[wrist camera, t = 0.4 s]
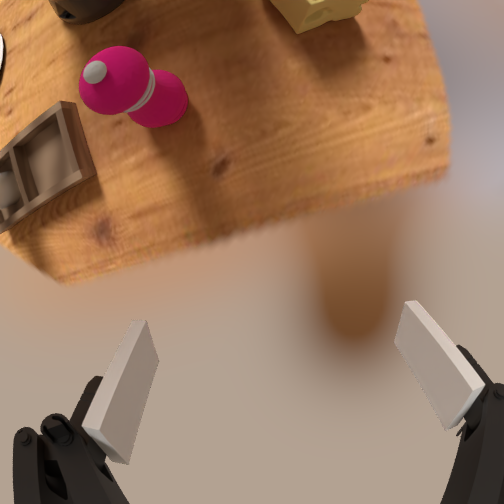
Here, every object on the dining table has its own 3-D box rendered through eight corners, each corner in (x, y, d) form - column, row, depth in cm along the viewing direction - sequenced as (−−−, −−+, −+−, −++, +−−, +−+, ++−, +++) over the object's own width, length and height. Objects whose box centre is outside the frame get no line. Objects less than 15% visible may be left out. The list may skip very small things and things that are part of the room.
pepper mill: (169, 139, 34) (94, 137, 15) (130, 112, 32) (36, 95, 14) (203, 96, 32) (158, 46, 13) (162, 69, 30) (90, 13, 12)
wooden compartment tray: (8, 229, 37) (-5, 236, 33) (-10, 172, 33) (-24, 176, 29) (96, 173, 35) (82, 177, 31) (75, 103, 31) (59, 100, 27)
